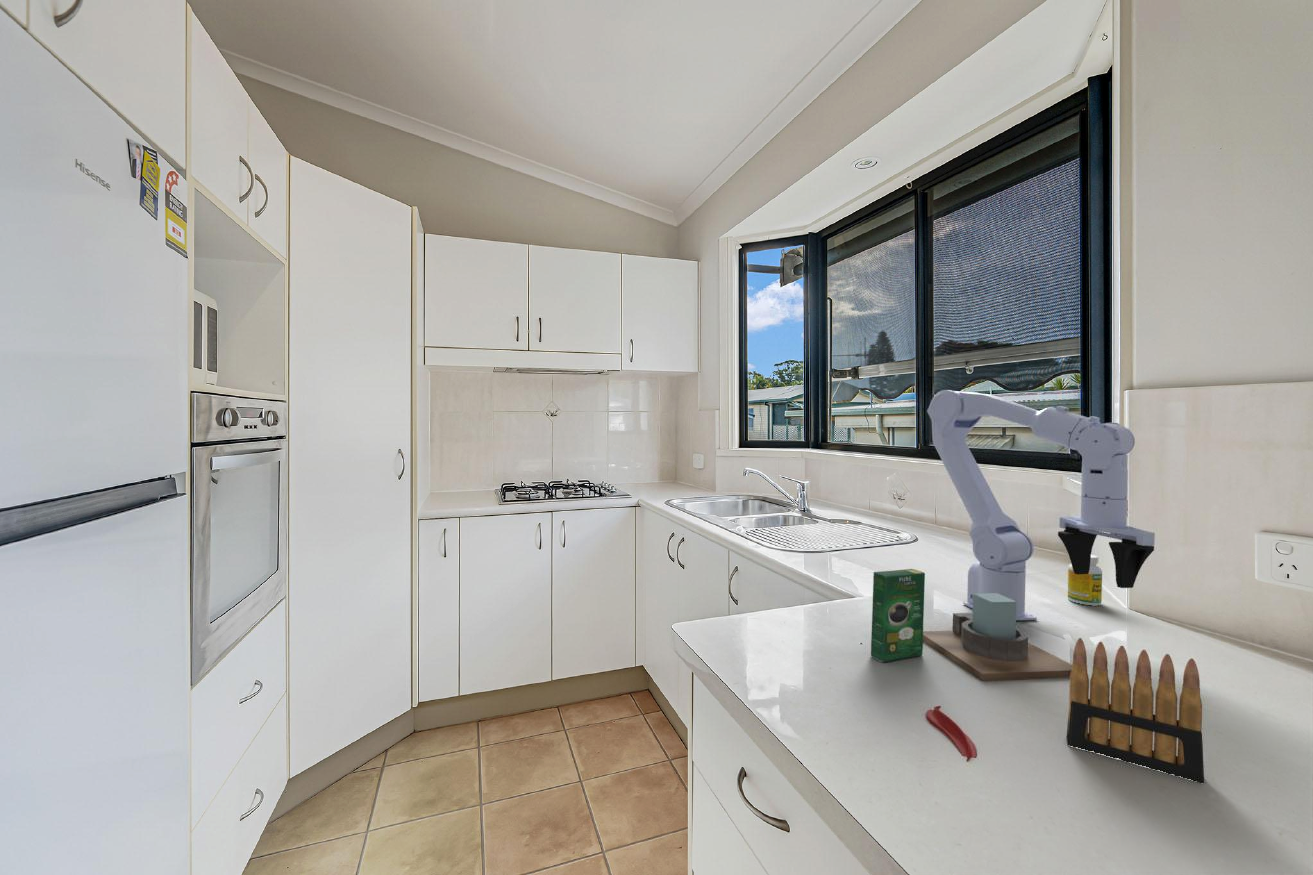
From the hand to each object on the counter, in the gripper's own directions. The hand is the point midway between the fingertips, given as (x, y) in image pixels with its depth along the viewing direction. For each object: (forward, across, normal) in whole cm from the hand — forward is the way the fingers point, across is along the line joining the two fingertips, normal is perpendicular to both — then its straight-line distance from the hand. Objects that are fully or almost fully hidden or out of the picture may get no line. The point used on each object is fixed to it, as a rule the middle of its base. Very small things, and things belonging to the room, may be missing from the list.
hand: (1102, 580), depth 86 cm
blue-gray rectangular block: (+9, +3, -21) cm, 23 cm away
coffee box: (+11, +2, -36) cm, 38 cm away
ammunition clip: (+11, +28, -25) cm, 39 cm away
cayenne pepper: (+11, +21, -41) cm, 47 cm away
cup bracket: (+10, +3, -21) cm, 24 cm away
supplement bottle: (+11, -19, +16) cm, 27 cm away
